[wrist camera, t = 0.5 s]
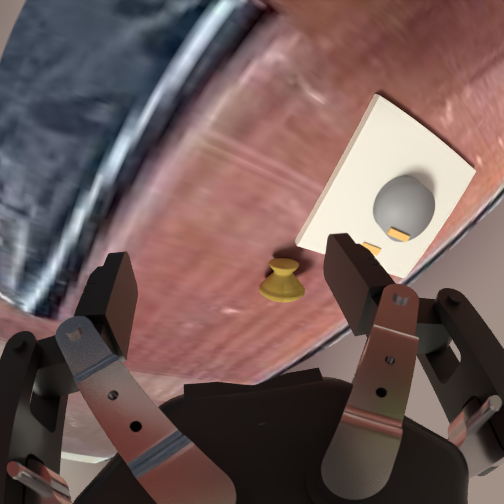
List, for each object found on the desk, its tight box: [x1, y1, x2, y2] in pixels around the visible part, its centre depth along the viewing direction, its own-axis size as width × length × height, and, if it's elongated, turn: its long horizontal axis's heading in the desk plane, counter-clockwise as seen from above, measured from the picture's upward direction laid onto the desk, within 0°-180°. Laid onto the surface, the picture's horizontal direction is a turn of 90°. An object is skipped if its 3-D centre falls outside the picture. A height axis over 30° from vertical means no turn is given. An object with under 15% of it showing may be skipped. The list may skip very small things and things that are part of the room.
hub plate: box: [295, 94, 476, 278], centre depth 31 cm, size 18×18×4 cm
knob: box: [259, 258, 305, 302], centre depth 34 cm, size 5×5×5 cm
